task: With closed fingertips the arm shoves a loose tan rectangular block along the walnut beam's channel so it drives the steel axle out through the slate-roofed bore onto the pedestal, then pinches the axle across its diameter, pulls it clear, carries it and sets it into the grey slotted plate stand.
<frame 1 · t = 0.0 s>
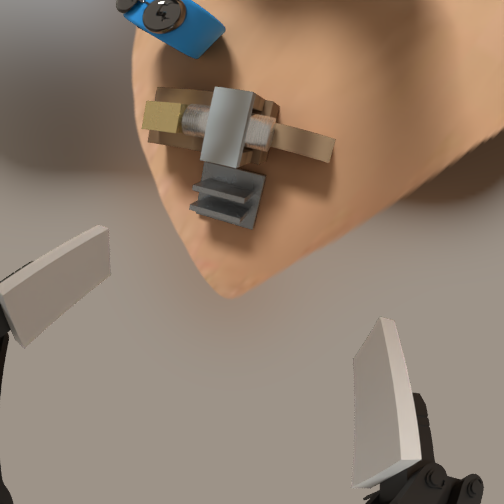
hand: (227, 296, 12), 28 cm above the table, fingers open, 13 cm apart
grey slotted plate stand: (230, 194, 39), on the table
tan rectangular block: (176, 117, 31), point 5 cm above the table, touching beam
beam: (251, 128, 35), on the table
axle: (233, 126, 30), point 5 cm above the table, touching beam
alarm clock: (196, 34, 30), on the table
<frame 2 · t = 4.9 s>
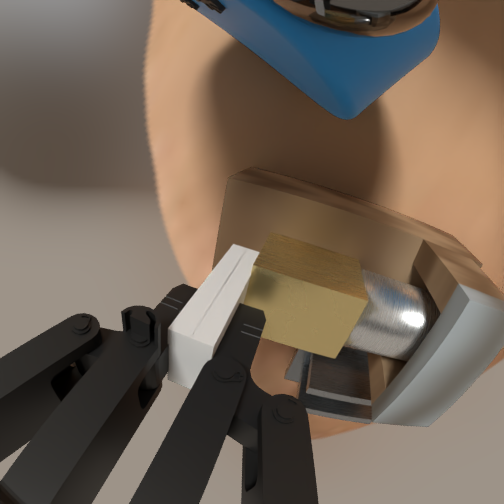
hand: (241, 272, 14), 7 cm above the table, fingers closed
grey slotted plate stand: (343, 357, 23), on the table
tan rectangular block: (305, 274, 15), point 5 cm above the table, touching axle, gripper
beam: (402, 270, 18), on the table
axle: (417, 307, 14), point 5 cm above the table, touching beam, tan rectangular block
alarm clock: (296, 39, 14), on the table
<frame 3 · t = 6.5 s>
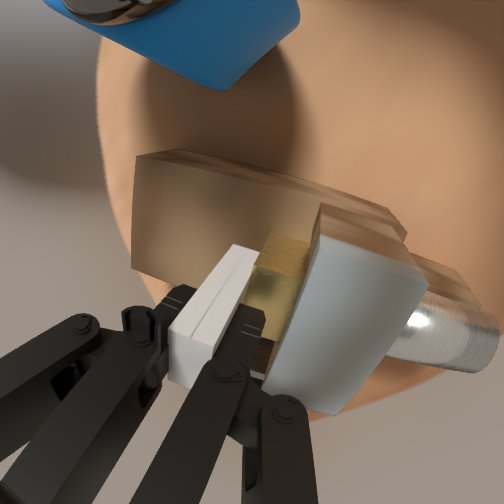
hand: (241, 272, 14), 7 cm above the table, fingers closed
grey slotted plate stand: (281, 339, 24), on the table
tan rectangular block: (305, 273, 15), point 5 cm above the table, touching axle, gripper
beam: (330, 245, 19), on the table
axle: (417, 307, 14), point 5 cm above the table, touching beam, tan rectangular block
alarm clock: (216, 29, 15), on the table
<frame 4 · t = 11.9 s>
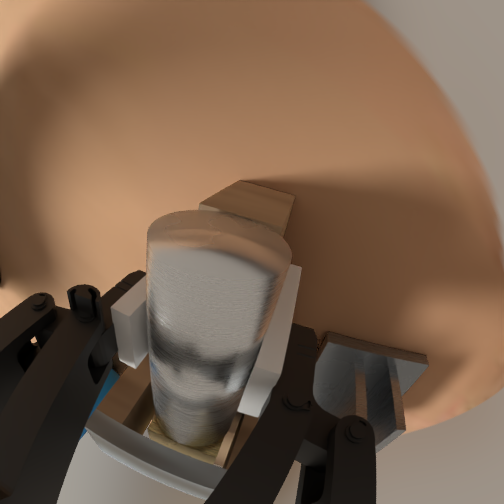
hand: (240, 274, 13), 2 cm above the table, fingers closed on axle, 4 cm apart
grey slotted plate stand: (352, 385, 18), on the table
tan rectangular block: (204, 407, 15), point 5 cm above the table, touching beam
beam: (229, 341, 19), on the table
axle: (217, 324, 11), point 5 cm above the table, touching beam, gripper
alarm clock: (100, 360, 26), on the table
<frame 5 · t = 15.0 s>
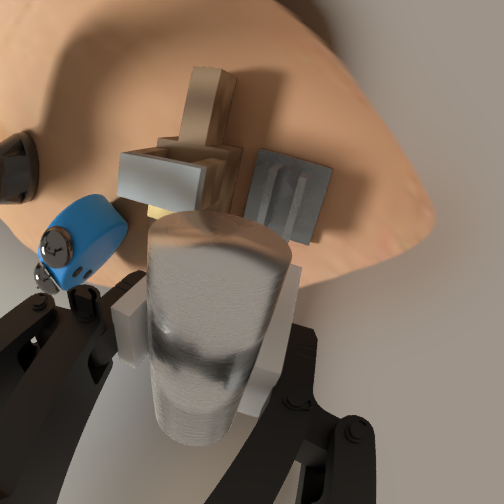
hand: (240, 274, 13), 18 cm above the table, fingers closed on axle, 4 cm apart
grey slotted plate stand: (286, 196, 30), on the table
beam: (205, 166, 31), on the table
axle: (216, 323, 11), point 21 cm above the table, touching gripper
alarm clock: (113, 226, 38), on the table
when the fingers open (3 cm above the table, at t = 18.1 s): axle stays where it is, resting on grey slotted plate stand.
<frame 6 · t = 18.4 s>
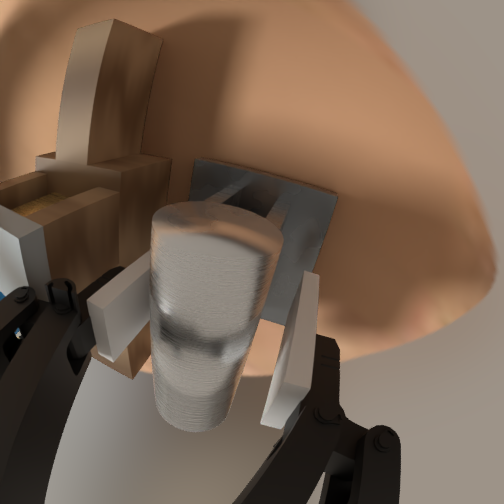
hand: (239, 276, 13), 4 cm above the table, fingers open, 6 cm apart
grey slotted plate stand: (250, 243, 17), on the table
tan rectangular block: (73, 237, 14), point 5 cm above the table, touching beam
beam: (120, 191, 17), on the table
axle: (212, 310, 12), point 6 cm above the table, tilted 6°, touching grey slotted plate stand
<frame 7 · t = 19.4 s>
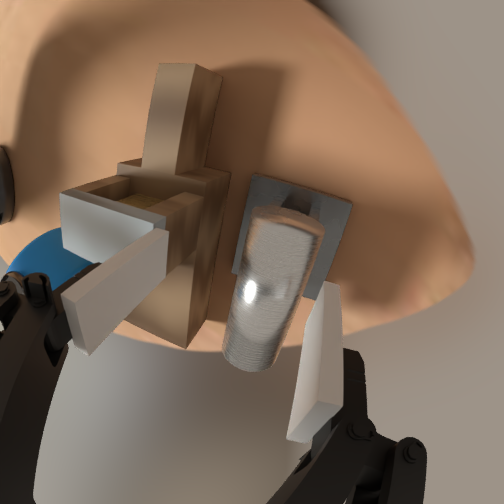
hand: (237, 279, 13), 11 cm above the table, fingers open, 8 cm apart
grey slotted plate stand: (289, 237, 23), on the table
tan rectangular block: (153, 229, 20), point 5 cm above the table, touching beam
beam: (184, 195, 24), on the table
axle: (270, 279, 18), point 6 cm above the table, tilted 6°, touching grey slotted plate stand
alarm clock: (88, 259, 31), on the table
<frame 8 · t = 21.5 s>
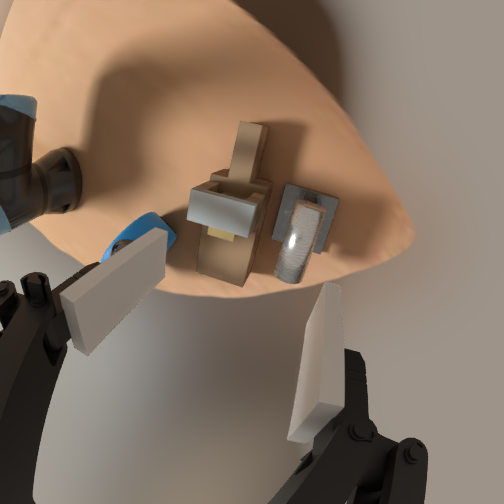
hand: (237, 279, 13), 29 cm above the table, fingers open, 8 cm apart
grey slotted plate stand: (304, 218, 41), on the table
tan rectangular block: (232, 211, 38), point 5 cm above the table, touching beam
beam: (243, 193, 41), on the table
axle: (298, 236, 36), point 6 cm above the table, tilted 6°, touching grey slotted plate stand
alarm clock: (160, 237, 49), on the table
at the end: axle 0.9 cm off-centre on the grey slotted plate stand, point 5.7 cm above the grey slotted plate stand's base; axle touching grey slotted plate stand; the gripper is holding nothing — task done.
